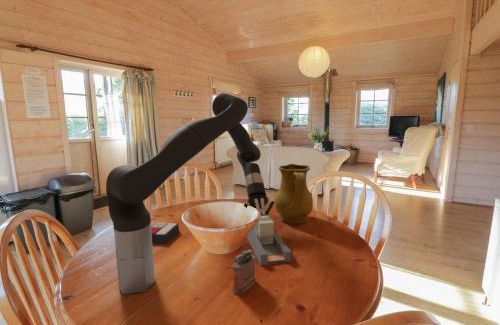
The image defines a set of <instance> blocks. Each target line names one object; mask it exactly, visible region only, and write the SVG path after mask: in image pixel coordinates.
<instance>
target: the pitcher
mask: <svg viewBox="0 0 500 325" xmlns="http://www.w3.org/2000/svg"><path fill="white" fill-rule="evenodd" d="M310 170H311V166H310V165H307V164H296V163H288V164H286V165H280V166H279V167H278V171H280V174H281V180H280V186H279V188H278V191H276V194H275V196H274V200H273V201H274V208H275V211H276V213H278V214H279V215H280V217H279V221H282V222H284V223H288V224H303V223H306V222H307V221H308V220H307V218H308V217H307V216H309V215H310V214H312V211H313V208H314V206H313V205H314V199H313V196H312V193H311V192H310V190H309V189H308V186H307V174H308V172H309V171H310Z"/></svg>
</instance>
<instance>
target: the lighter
mask: <svg viewBox="0 0 500 325" xmlns="http://www.w3.org/2000/svg"><path fill="white" fill-rule="evenodd" d="M256 258H257V257H256V255H255V254H253V249H247V250H242V251H241V253H240V254H238V255H236V256H235V257H234V263H233V264H232V271H233V273H232V276H233V287H232V293H234V294H236V295H241V294H243V293H245V292H246V291H248V290H249V289H251V288H252V287H253V286H254V285H255V283H257V282H256V280H257V278H256V268H255V267H256V260H257V259H256Z"/></svg>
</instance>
